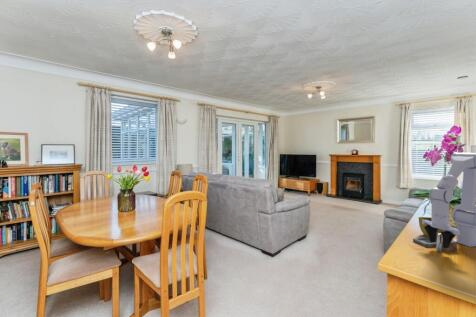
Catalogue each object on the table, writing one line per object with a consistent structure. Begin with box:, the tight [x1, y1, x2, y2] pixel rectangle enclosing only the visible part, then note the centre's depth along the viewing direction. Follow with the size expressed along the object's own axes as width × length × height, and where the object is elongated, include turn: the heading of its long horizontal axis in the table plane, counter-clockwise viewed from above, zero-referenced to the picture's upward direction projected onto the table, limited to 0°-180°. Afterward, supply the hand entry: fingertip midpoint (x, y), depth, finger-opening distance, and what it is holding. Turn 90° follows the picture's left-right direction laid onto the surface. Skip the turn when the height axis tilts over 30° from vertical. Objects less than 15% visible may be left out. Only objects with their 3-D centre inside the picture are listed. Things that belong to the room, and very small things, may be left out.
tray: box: [412, 236, 436, 248], centre depth 110 cm, size 8×7×2 cm
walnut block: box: [442, 238, 458, 252], centre depth 104 cm, size 5×5×4 cm
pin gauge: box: [435, 233, 443, 253], centre depth 102 cm, size 2×2×8 cm
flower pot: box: [418, 216, 445, 238], centre depth 119 cm, size 9×9×9 cm
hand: (439, 244), depth 102 cm, fingers open, 5 cm apart
